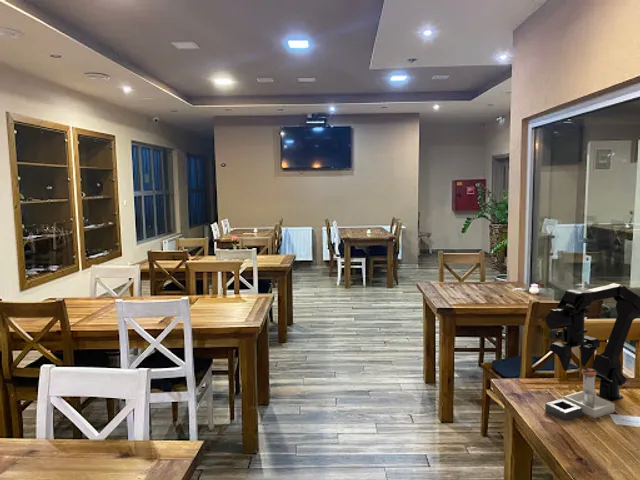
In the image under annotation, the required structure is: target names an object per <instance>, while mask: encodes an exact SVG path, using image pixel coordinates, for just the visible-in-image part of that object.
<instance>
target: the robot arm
mask: <svg viewBox="0 0 640 480" xmlns="http://www.w3.org/2000/svg"><path fill="white" fill-rule="evenodd" d="M608 299H613V300H614V301H615V302H616V303H615V311H616V318H615V321H614V324H613V326H612V329H611V332H610V333H609V338H608V340H607V343H606V345H605V347H604V350H603V352H601V353H600V354H599V353H596V354H595V356H594V359H593V361H592V363H591V364H592V367H591V369H594V370H596V371H597V375H596V376H595V378H597V379H599V392H596V393H595V396H597V397H600V398H602V399H605V400H607V401H609V402H614V401H618V400H620V399H624V396H623V395H621V394H620V386H623V385H624V384H626V381H627V377H626V376H625V375H624V374H622V372H621V369H622V363H621V360H620V356H621V354H622V351H623V349H624V346H625V342H626V340H627V337H628V335H629V332H630V330H631V326H632V323H633V322H634V320H636V319H637V318H638V317H640V296H639V295H638V294H637V293H635V292H633V291H631V290H630V289H629V288H628V287H626V286H625V285H623V284H619V283H610V284H608V285H603V286H598V287H594V288H589V289H567V290H565V292H564V294H563V296H562V298H561V299H560V301H559V302H558V304H557V306H556V309H555V308H553V309H552V308H551V309H550V310H549V311H550V312H548V313H547V315H546V316H545V323H546V326H547V327H548V328H549V329H550V330H549V331H548V337H549V339H550V340H552V341H553V342H552V343H550V344H549V351H550V352H552V353H553V354H556V356H557V357H558V359H559V361H560V364H561V367H562V370H563V371H564V372H567V371H568V369H569V366H570V363H571V359H572V356H573V355H572V351H573V350H572V349H576V348H579V350H580V363H581V366H582V367H586V365H588V362H589V361H590V359H591V357H592V356H593V354H594V353H595V352H596V351H597V350H598V348H600V347H601V341H600V339H598V338H596V337H593V336H589V335H585V334H586V333H588V329H587V328H585V320H586V319H585V315H586V314H590V310H589V309H588V307H590V306H591V305H592V304H593V303H595V302H597V301H598V302H599V301H603V300H608ZM557 329H562V330H557Z"/></svg>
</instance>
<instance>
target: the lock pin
mask: <svg viewBox="0 0 640 480" xmlns="http://www.w3.org/2000/svg"><path fill="white" fill-rule="evenodd" d="M581 374H582V381H583V382H582V391H583V404H584V405H586V406H589V407H591V408H595V396H596V393H595V392H596V377H595V376H596V375H597V371H596V370H594V369H592V368H589V367H588V368H587V367H586V368H581Z"/></svg>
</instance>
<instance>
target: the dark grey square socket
mask: <svg viewBox="0 0 640 480" xmlns="http://www.w3.org/2000/svg"><path fill="white" fill-rule="evenodd" d="M544 407H545V410H544V411H545V413H547V414H549V415H551V416H553V417H555V418H558V419H559V420H561V421H563V422H567V421H571V420H574V419H578V418H580V417H583V413H582V407H580V406H577V405H575V404H573V403H571V402H569V401H566V400H564V398H559V399H556V400H553V401H549V402H546V403H545V406H544Z"/></svg>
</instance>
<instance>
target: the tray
mask: <svg viewBox="0 0 640 480" xmlns="http://www.w3.org/2000/svg"><path fill="white" fill-rule="evenodd" d="M563 399H564V400H566V401H569V402H571V403H573V404H575V405H577V406H580V407H582V415H583V414H584V415H586V416H587V417H590V418H592V419H594V420H595V419H597V418H600V417H604V416H607V415H610V414H613V413H615V411H616V409H615V408H616V407H615V406H616V405H615V404H616V403H614V402H613V401H610V400H607V399H605V398H602V397H600V396H598V395H595V408H591V407H589V406H586V405H584V404H583V390H582V391H581V390H580V391H578V392H574V393H569V394H567V395H564V396H563Z"/></svg>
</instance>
